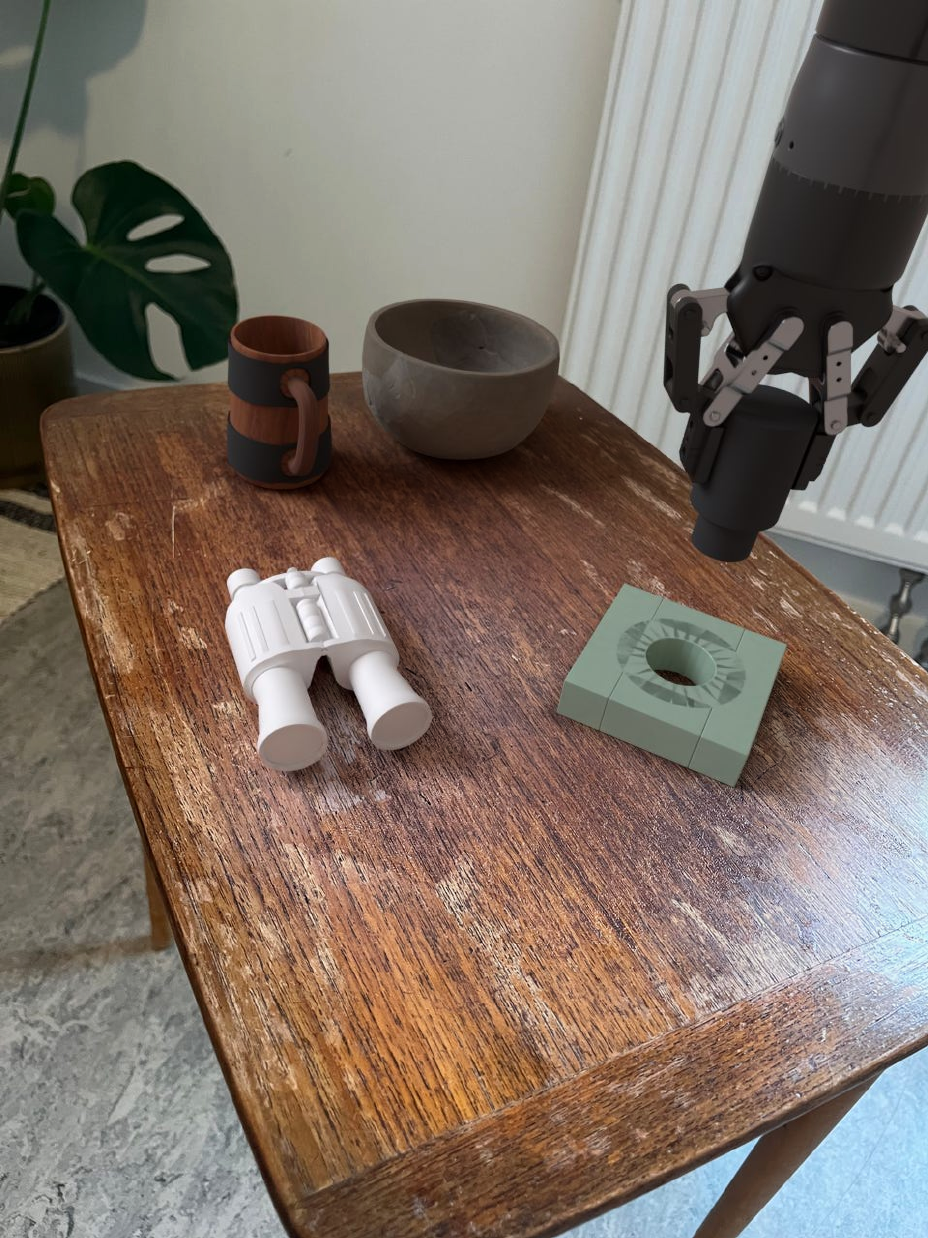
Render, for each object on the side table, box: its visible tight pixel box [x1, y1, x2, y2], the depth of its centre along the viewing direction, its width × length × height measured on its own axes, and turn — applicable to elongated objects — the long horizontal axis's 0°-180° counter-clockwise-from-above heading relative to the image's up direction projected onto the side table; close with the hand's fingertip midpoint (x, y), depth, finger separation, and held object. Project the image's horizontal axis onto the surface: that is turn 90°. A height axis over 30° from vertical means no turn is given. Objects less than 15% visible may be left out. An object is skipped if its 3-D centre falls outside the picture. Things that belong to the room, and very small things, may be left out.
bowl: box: [361, 298, 561, 461], centre depth 86 cm, size 17×18×10 cm
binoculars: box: [224, 556, 433, 772], centre depth 61 cm, size 10×16×5 cm, turn 21°
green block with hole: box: [556, 583, 788, 788], centre depth 65 cm, size 12×12×3 cm
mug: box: [226, 314, 333, 490], centre depth 77 cm, size 9×12×12 cm
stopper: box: [689, 383, 818, 563], centre depth 55 cm, size 5×5×9 cm
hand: (744, 478), depth 55 cm, fingers closed on stopper, 5 cm apart
